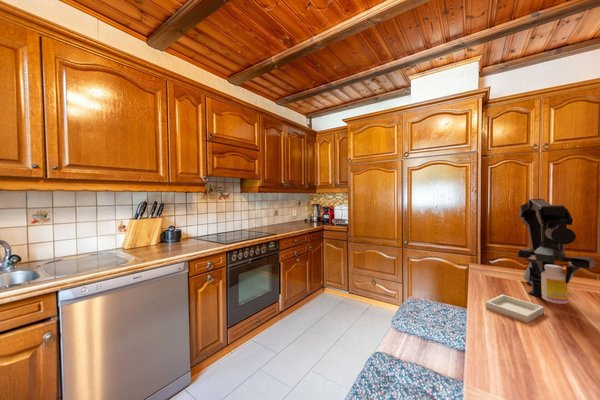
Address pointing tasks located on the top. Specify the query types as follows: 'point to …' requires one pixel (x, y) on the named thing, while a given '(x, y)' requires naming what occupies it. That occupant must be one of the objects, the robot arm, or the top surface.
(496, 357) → the top surface
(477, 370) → the top surface
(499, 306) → the tray
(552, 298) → the supplement bottle
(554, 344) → the top surface
